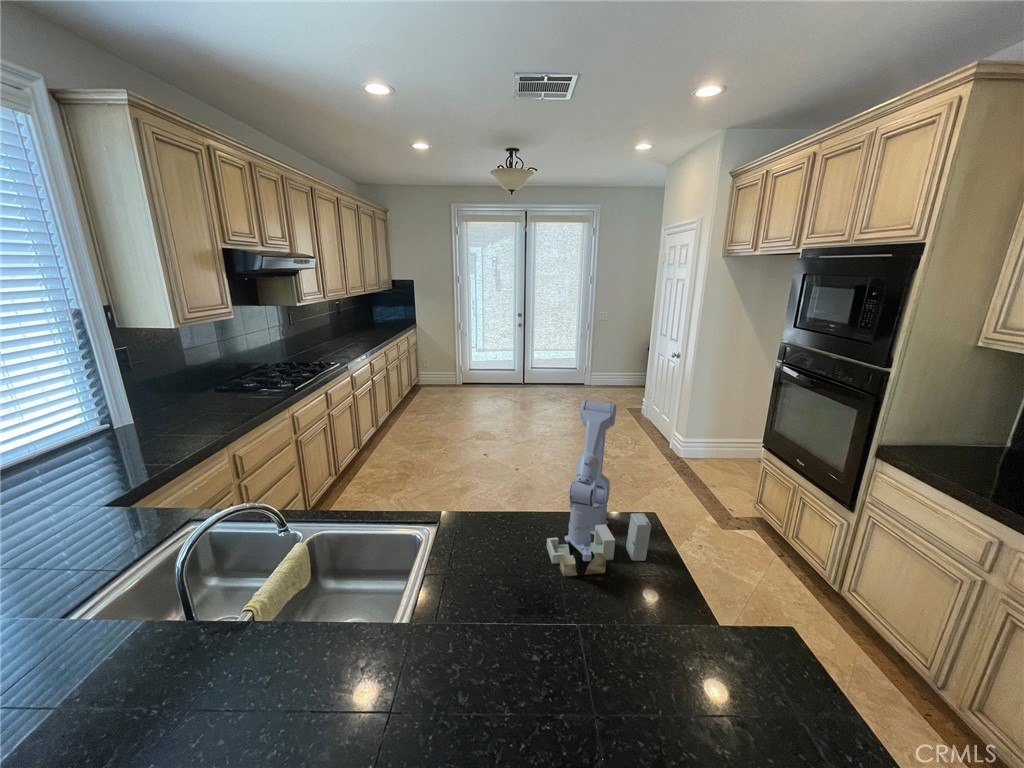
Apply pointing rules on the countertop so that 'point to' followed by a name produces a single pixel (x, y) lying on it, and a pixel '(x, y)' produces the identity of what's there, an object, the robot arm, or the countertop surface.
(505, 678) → the countertop surface
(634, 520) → the skincare box
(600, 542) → the endcap rail
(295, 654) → the countertop surface
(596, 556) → the tan rectangular block
